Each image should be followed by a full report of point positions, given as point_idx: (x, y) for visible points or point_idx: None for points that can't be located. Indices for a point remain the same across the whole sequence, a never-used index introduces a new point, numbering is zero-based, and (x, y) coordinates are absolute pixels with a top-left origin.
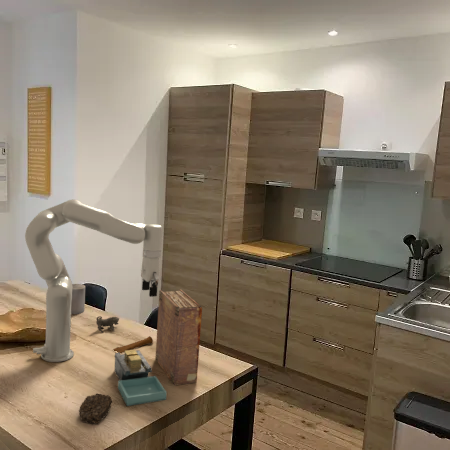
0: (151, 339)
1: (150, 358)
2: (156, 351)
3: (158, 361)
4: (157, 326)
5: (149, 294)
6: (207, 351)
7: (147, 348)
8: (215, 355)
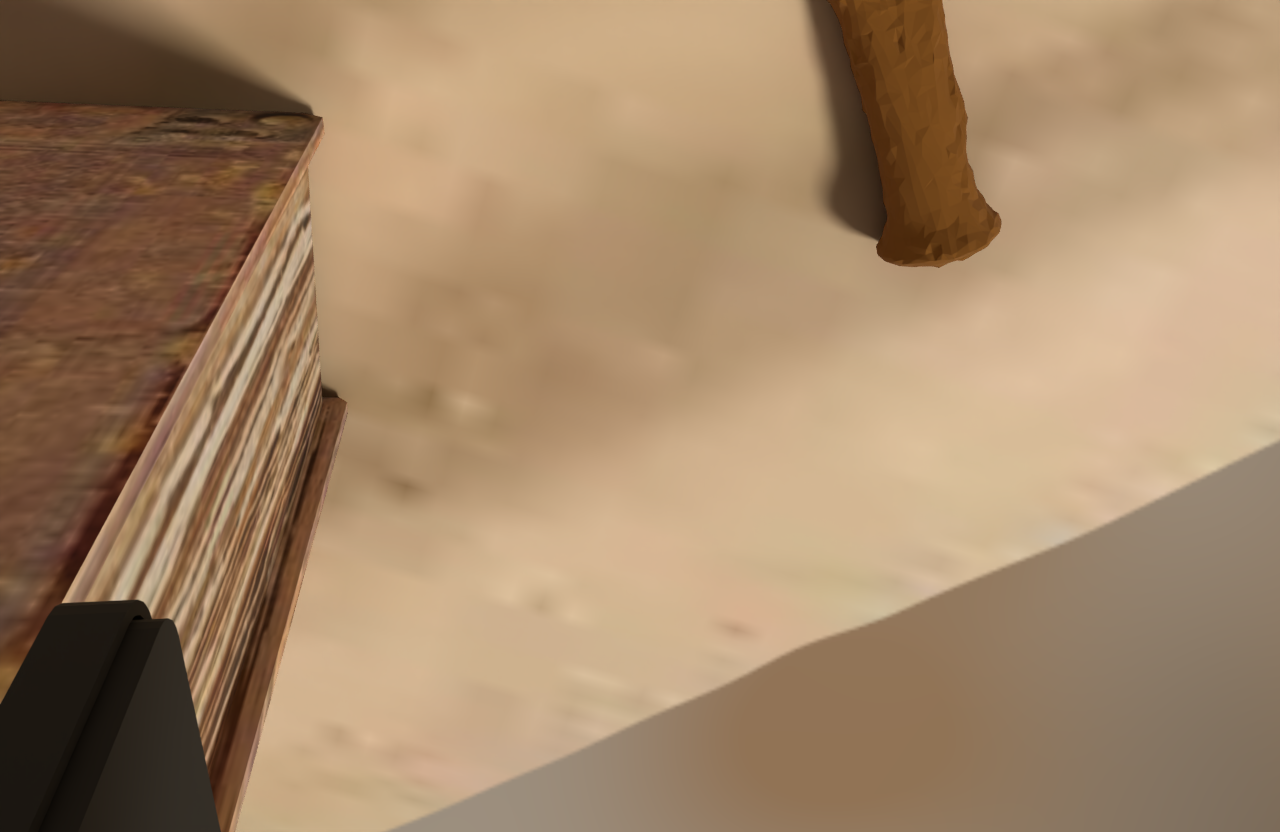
0: (900, 248)
1: (353, 44)
2: (267, 148)
3: (149, 113)
4: (196, 322)
5: (56, 665)
6: (411, 779)
7: (736, 118)
8: (277, 818)
